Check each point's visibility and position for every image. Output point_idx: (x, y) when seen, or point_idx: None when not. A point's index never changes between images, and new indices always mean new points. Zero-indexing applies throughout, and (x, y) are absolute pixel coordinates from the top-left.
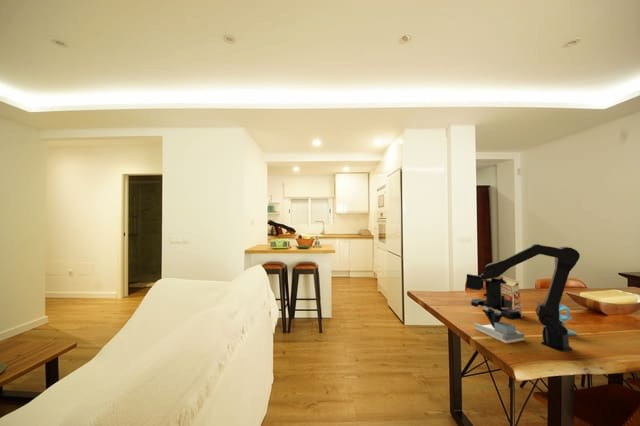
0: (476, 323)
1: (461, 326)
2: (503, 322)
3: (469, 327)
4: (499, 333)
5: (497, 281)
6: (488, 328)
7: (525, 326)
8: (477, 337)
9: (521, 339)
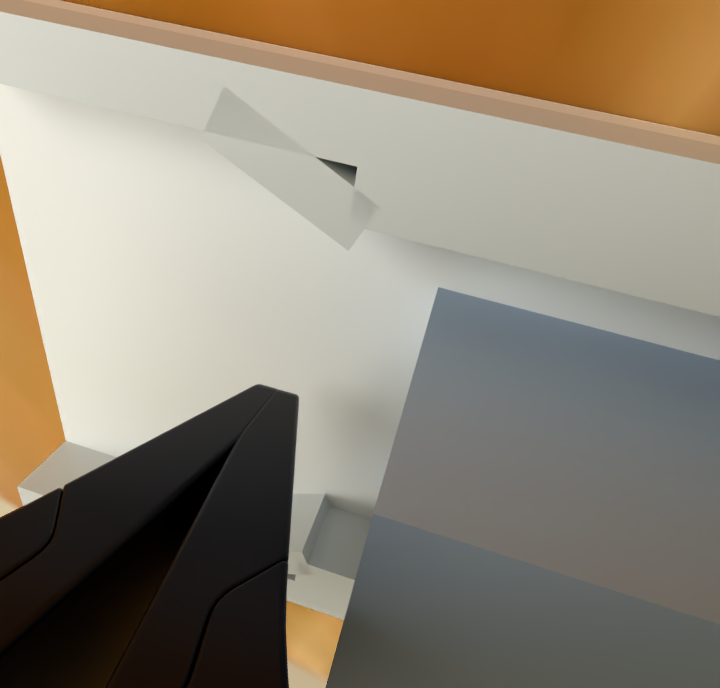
0: (35, 497)
1: (6, 484)
2: (452, 626)
3: (42, 441)
4: None
5: None
6: None
7: None
8: (317, 641)
9: None
